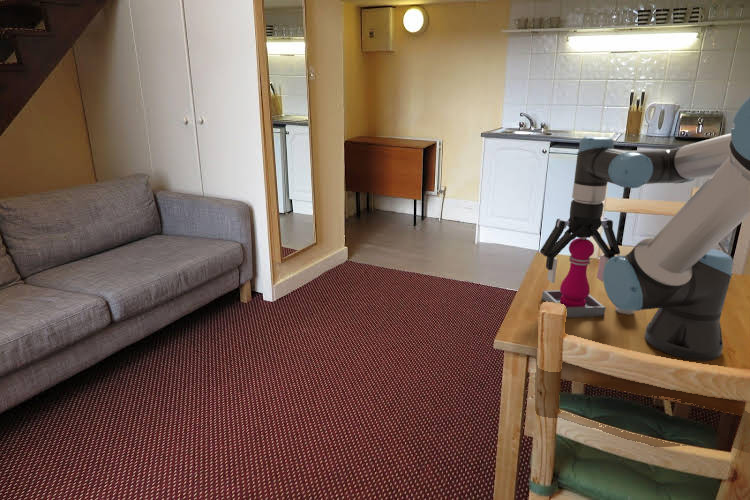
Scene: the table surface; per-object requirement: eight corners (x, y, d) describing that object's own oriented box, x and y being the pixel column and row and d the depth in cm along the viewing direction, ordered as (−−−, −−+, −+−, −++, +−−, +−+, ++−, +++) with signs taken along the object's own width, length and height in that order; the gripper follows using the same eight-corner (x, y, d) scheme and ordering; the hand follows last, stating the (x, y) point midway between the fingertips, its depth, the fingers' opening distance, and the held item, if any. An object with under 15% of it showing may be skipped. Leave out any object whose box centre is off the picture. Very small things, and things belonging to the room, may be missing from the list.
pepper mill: (582, 313, 127) (595, 239, 121) (554, 305, 131) (565, 233, 125) (590, 304, 133) (602, 232, 126) (562, 297, 137) (573, 227, 130)
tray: (604, 316, 127) (605, 307, 126) (560, 317, 126) (561, 308, 125) (582, 297, 138) (583, 289, 137) (541, 299, 137) (542, 290, 136)
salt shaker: (637, 314, 129) (644, 277, 126) (621, 314, 128) (627, 278, 125) (627, 306, 133) (634, 271, 130) (611, 307, 132) (618, 272, 129)
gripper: (626, 196, 128) (613, 273, 134) (533, 197, 125) (524, 276, 132) (644, 203, 121) (629, 284, 127) (545, 204, 118) (535, 287, 125)
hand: (575, 280), depth 130 cm, fingers open, 13 cm apart
